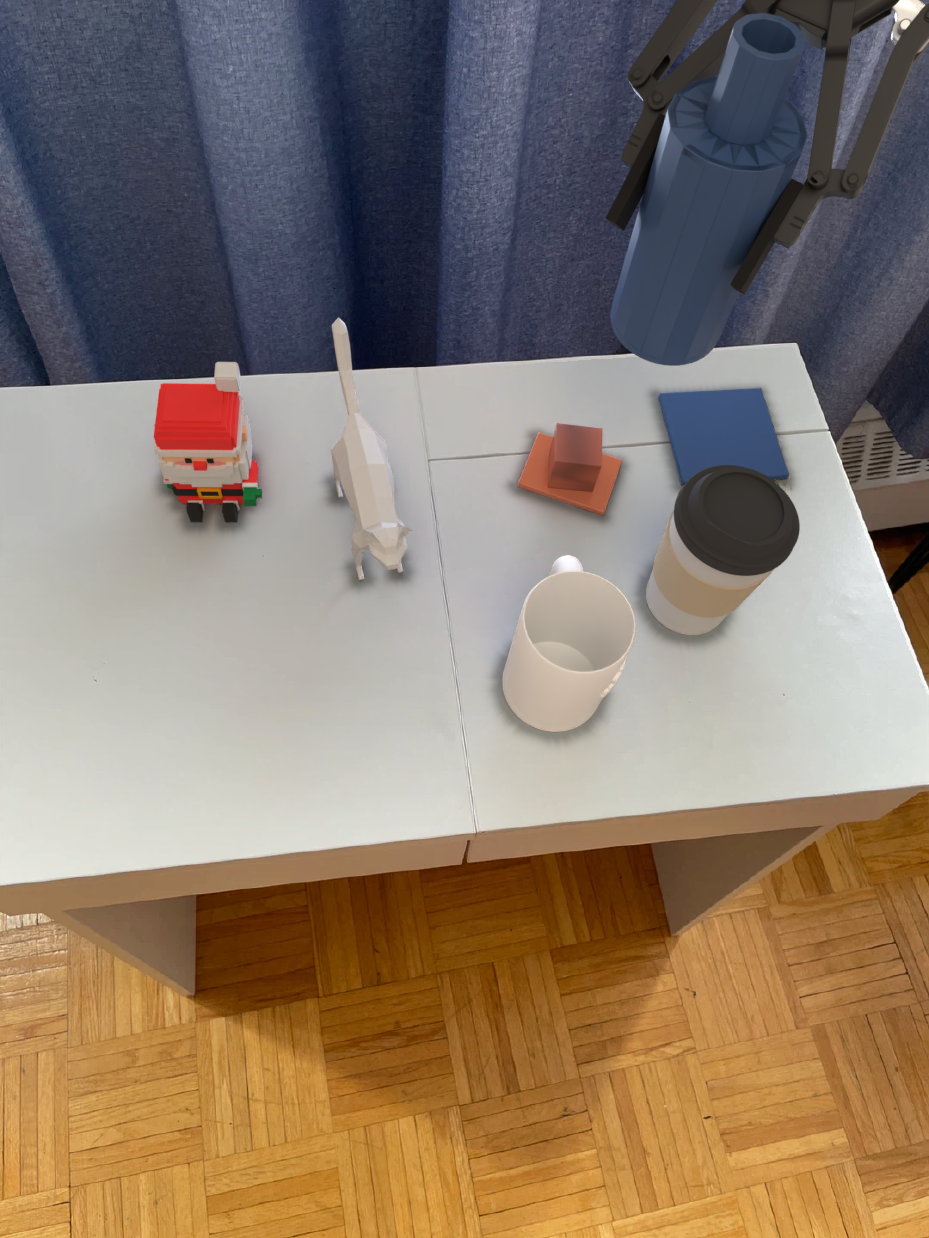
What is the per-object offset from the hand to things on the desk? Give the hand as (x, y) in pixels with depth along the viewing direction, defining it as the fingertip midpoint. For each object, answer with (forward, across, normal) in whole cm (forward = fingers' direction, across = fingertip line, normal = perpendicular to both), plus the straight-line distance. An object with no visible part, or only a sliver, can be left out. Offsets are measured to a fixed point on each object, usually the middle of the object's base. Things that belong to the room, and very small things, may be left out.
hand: (675, 256), depth 59 cm
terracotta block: (+18, +3, -19) cm, 27 cm away
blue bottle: (+4, 0, -8) cm, 9 cm away
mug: (+30, -6, -8) cm, 32 cm away
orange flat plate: (+19, +3, -19) cm, 27 cm away
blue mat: (+10, -6, -28) cm, 30 cm away
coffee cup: (+22, -12, -16) cm, 30 cm away
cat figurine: (+29, +14, -9) cm, 34 cm away
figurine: (+33, +26, -5) cm, 42 cm away
